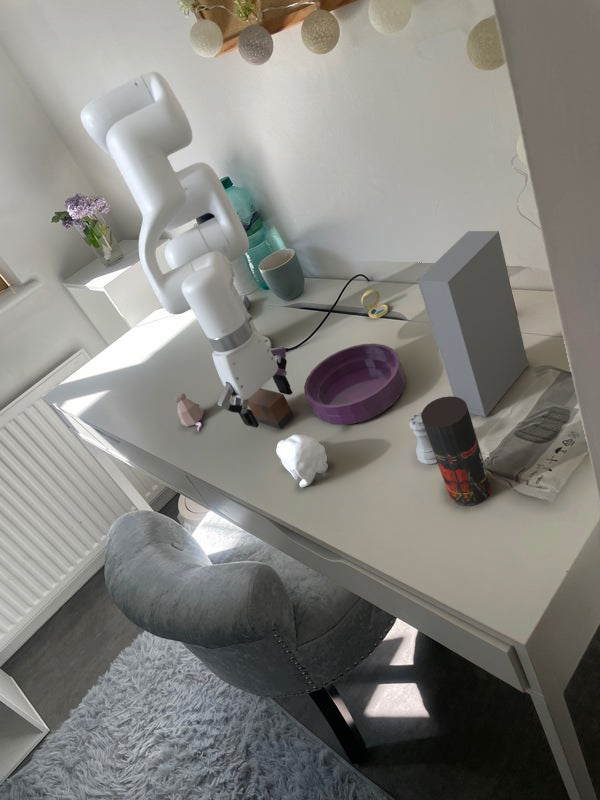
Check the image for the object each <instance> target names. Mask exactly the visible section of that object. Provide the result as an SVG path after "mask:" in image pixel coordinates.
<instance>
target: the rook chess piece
mask: <svg viewBox="0 0 600 800" xmlns="http://www.w3.org/2000/svg"><path fill="white" fill-rule="evenodd" d="M421 414H422V411H417V414H416V413H412V416H410V417H409V423H408V426H409V428H410V429H411V430H413V431H412V433H413V435H414V436H415V437H416V441H417V442H416V449H415V454H416V458H417V460H418V461H419V462H420V463H422V464H425V465H434V464H438V463H437V460H436V457H435V455H434V452H433V449H432V446H431V443H430V441H429V438H428V435H427V432H426V430H425V427H424V424H423V421H422V418H421Z"/></svg>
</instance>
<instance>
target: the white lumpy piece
mask: <svg viewBox="0 0 600 800" xmlns="http://www.w3.org/2000/svg"><path fill="white" fill-rule="evenodd" d="M275 451H276V455H277V456H278V458H279V459H280V461H279V464H280V465H281V464H282V466H283V467H284V468H285V470H286V471H288V472H289V473H290V475H291V476H292V477H293V478H294V480H295V481H297V480H298V479H299V478H300V479H301V480H300V481H299V487H300V488H306V487H309V486H310V485H311V484H312V483H313V481H314V480H315V478H316V474H324V473H326V472H327V470H328V468H329V465H328V463H327V461H328V457H327V453H326V448H325V447H324V445H323V444H321V443H320V442H318V440H317V439H315V438H314V437H312V436H310V435H304V434H292V435H290V436H288V437H287V438H286V439H281V440H280V441H278V443H277V446H276V449H275Z"/></svg>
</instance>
